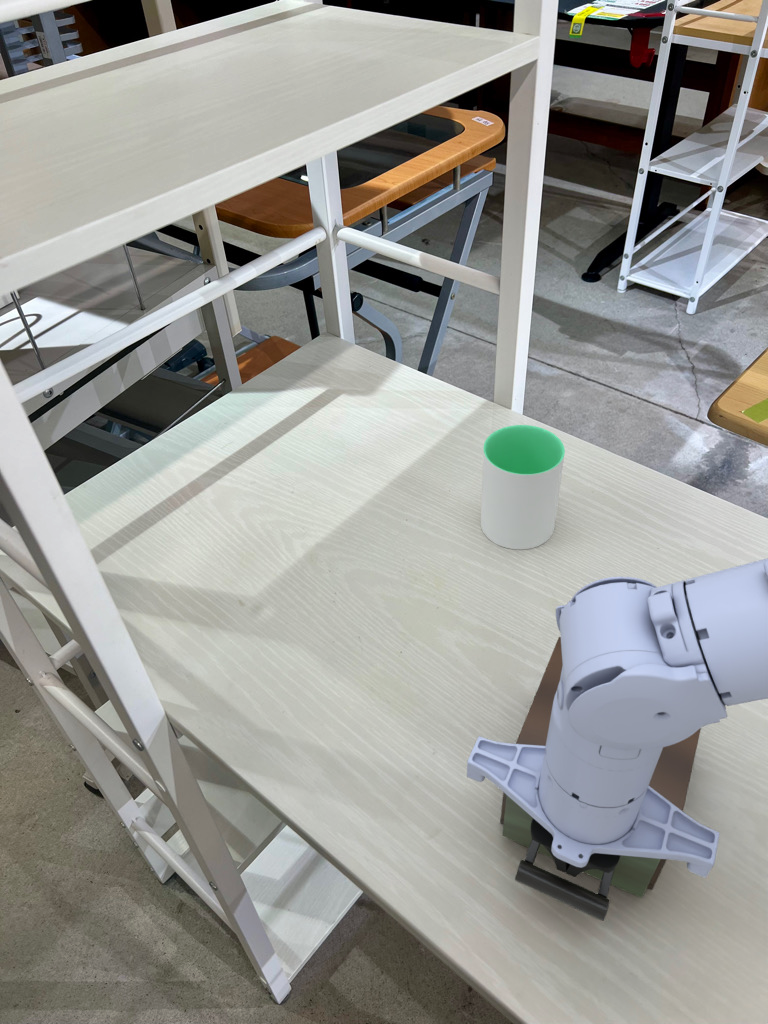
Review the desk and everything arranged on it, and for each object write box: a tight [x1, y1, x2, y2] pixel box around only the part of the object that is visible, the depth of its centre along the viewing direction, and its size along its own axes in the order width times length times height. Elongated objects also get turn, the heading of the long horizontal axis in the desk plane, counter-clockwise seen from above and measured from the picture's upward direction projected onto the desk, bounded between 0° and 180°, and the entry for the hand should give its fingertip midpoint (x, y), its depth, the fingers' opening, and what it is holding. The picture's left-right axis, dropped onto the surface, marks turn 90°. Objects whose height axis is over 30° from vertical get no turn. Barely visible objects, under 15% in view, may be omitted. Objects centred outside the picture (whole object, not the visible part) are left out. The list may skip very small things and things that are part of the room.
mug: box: [480, 424, 566, 550], centre depth 80 cm, size 12×8×10 cm
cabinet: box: [499, 636, 702, 890], centre depth 57 cm, size 13×12×9 cm
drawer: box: [501, 796, 660, 922], centre depth 54 cm, size 16×10×7 cm, turn 153°
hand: (570, 859), depth 50 cm, fingers closed
